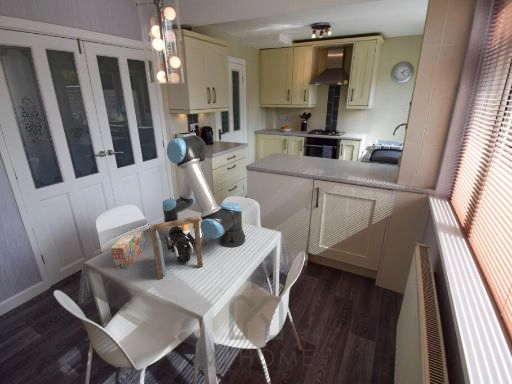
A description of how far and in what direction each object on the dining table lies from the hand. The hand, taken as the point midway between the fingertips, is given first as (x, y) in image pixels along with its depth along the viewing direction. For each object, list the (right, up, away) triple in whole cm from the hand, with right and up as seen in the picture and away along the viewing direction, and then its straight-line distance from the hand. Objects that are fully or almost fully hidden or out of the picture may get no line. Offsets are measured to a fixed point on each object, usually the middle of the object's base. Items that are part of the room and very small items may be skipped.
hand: (185, 252), depth 131 cm
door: (-12, -8, +2) cm, 15 cm away
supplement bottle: (-2, -6, +7) cm, 9 cm away
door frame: (-2, -9, -1) cm, 10 cm away
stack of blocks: (-31, -6, +12) cm, 34 cm away
